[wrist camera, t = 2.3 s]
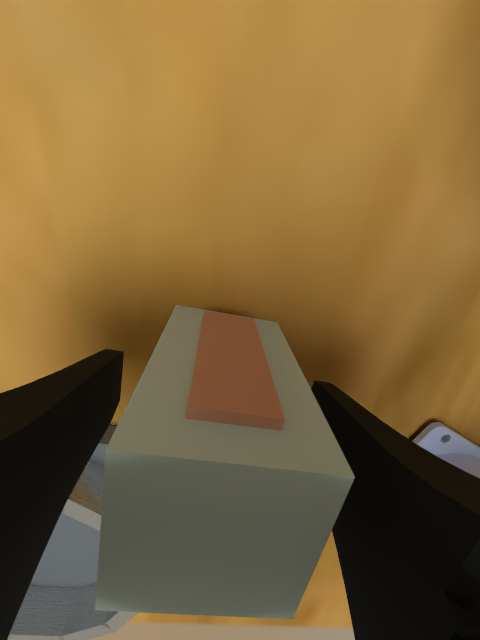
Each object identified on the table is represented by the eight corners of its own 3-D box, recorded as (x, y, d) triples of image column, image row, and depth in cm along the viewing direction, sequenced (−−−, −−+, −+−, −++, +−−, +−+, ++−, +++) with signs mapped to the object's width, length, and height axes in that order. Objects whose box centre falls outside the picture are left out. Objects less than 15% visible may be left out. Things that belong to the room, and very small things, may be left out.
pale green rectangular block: (278, 315, 13) (360, 464, 5) (255, 405, 14) (292, 619, 7) (177, 297, 12) (106, 434, 5) (164, 392, 14) (95, 610, 6)
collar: (171, 466, 14) (161, 519, 11) (150, 599, 17) (138, 661, 15) (-135, 434, 12) (-220, 487, 10) (-93, 587, 16) (-149, 654, 13)
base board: (254, 442, 15) (257, 461, 14) (214, 588, 19) (213, 612, 18) (-148, 394, 13) (-183, 411, 12) (-99, 571, 17) (-121, 596, 16)
